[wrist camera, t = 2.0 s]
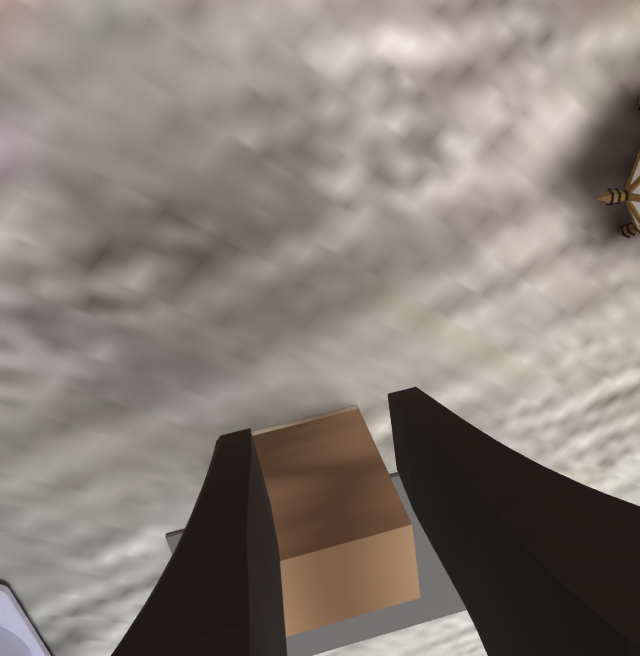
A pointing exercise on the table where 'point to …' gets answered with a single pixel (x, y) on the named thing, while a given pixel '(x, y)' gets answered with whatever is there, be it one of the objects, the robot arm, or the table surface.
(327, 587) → the walnut block
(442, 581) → the mat
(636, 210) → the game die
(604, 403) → the table surface
